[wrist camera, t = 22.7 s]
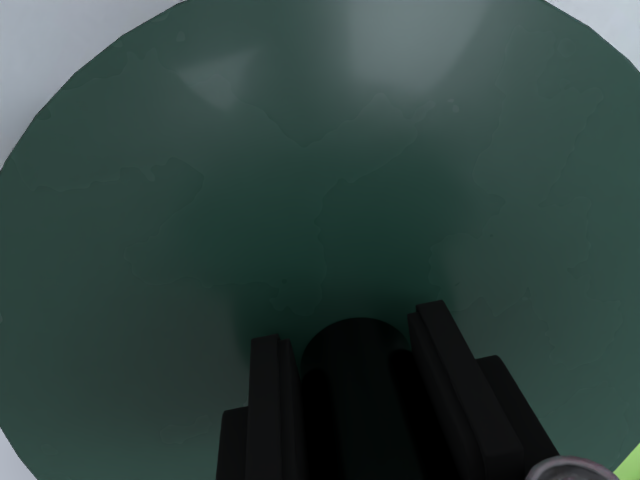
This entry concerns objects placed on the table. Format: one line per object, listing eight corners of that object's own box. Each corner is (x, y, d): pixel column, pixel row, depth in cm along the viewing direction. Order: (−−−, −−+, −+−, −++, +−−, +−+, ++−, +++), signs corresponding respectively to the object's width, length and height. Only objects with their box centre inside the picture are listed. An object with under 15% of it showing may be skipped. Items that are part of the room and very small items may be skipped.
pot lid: (-87, 454, 13) (-375, 843, 7) (168, -249, 8) (-86, -836, 2) (433, 602, 18) (518, 926, 12) (814, 199, 13) (1317, 406, 7)
